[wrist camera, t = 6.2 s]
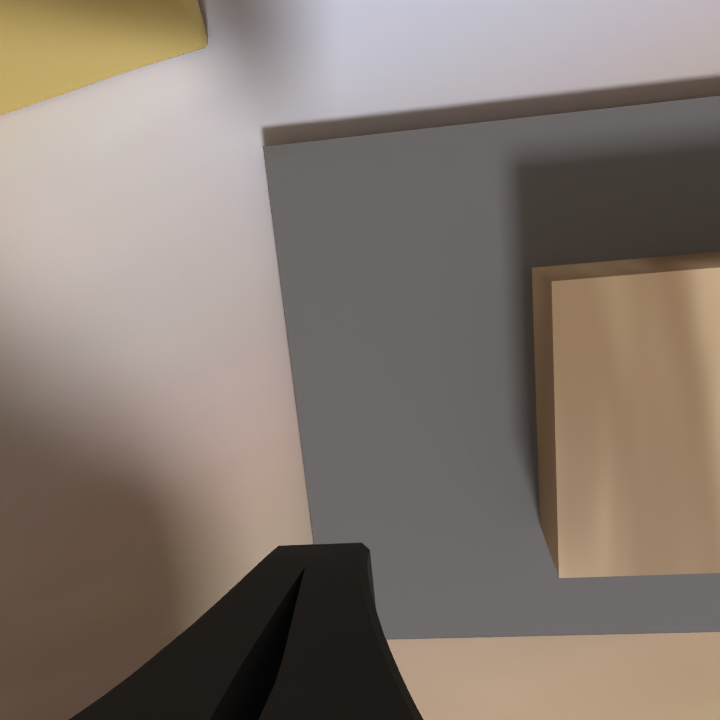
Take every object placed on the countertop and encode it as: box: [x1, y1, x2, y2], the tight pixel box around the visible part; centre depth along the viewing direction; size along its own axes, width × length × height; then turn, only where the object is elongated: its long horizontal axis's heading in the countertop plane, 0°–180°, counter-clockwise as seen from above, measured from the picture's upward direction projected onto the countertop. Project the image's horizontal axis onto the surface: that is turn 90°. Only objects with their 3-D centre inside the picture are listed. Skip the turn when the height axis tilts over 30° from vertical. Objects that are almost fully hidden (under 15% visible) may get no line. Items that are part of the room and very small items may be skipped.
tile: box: [532, 252, 720, 578], centre depth 15 cm, size 2×7×7 cm
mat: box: [263, 96, 720, 639], centre depth 17 cm, size 16×14×1 cm
